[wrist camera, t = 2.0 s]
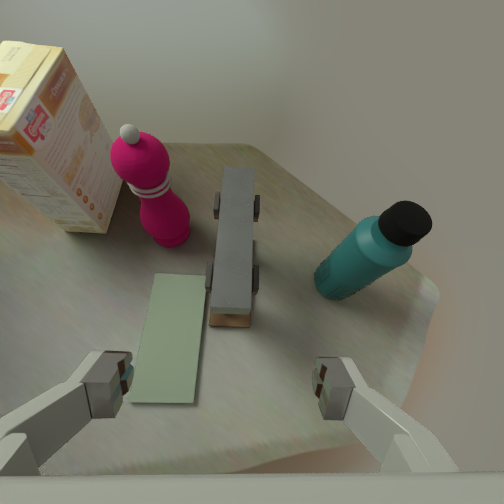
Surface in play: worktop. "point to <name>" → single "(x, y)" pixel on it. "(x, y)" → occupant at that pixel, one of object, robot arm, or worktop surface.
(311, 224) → the worktop surface
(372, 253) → the beverage bottle
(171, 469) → the worktop surface
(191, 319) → the mat
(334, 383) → the robot arm
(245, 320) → the stand
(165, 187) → the pepper mill
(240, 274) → the rail
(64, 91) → the coffeecake box
